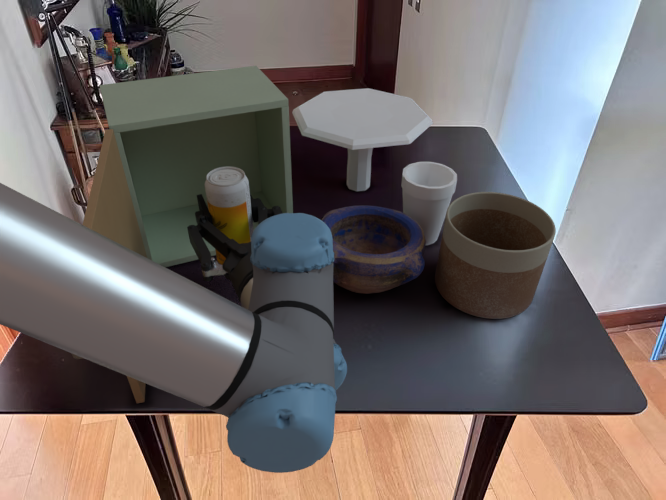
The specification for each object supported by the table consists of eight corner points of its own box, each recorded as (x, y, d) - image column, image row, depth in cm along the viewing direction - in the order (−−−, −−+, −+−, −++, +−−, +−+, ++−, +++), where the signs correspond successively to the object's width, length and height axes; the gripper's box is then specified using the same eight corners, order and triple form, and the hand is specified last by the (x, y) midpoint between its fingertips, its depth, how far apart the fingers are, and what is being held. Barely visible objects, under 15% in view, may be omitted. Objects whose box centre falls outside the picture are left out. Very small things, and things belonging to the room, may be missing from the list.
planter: (532, 332, 77) (558, 261, 69) (427, 309, 81) (439, 239, 73) (532, 268, 89) (554, 200, 81) (440, 250, 93) (452, 184, 85)
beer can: (218, 249, 83) (205, 166, 74) (256, 246, 83) (248, 164, 74) (216, 273, 78) (201, 187, 69) (256, 270, 79) (247, 185, 69)
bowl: (416, 245, 94) (422, 199, 88) (423, 315, 80) (431, 265, 74) (318, 240, 95) (318, 194, 89) (308, 308, 81) (307, 259, 75)
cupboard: (294, 236, 96) (288, 99, 80) (147, 271, 87) (108, 125, 71) (266, 192, 108) (256, 65, 92) (135, 219, 100) (99, 84, 83)
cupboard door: (88, 412, 65) (13, 249, 49) (108, 279, 85) (59, 133, 70) (144, 402, 67) (88, 240, 51) (151, 273, 87) (113, 128, 71)
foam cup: (399, 250, 93) (406, 188, 85) (392, 221, 100) (398, 161, 92) (451, 250, 93) (463, 188, 85) (440, 221, 101) (451, 161, 93)
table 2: (279, 214, 102) (274, 136, 91) (307, 150, 124) (305, 81, 113) (422, 229, 98) (433, 149, 88) (424, 160, 120) (434, 90, 110)
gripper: (195, 335, 62) (163, 231, 78) (340, 292, 68) (282, 205, 85) (185, 288, 57) (153, 188, 74) (341, 247, 63) (279, 164, 80)
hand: (222, 197), depth 79 cm, fingers closed on beer can, 6 cm apart
